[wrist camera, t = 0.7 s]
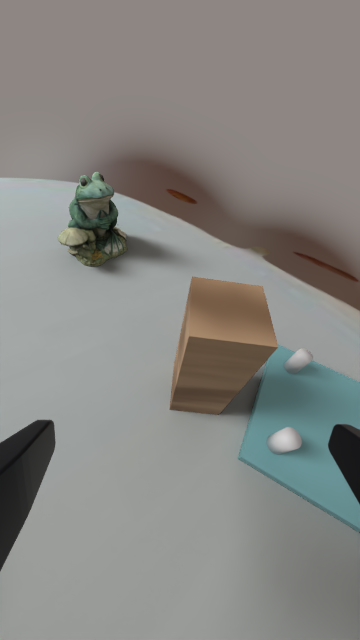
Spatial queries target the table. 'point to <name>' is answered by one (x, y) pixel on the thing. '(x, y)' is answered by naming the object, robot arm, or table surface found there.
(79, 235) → the frog figurine
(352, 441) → the robot arm
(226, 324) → the walnut pillar
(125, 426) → the table surface
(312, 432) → the peg plate
